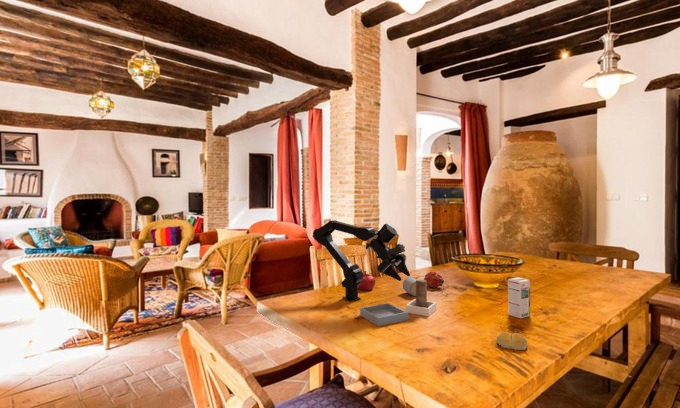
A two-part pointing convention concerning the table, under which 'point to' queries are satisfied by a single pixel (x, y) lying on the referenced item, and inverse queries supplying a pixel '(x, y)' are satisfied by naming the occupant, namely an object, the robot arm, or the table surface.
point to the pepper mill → (421, 293)
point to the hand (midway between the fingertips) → (405, 278)
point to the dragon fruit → (434, 280)
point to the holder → (421, 308)
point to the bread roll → (512, 341)
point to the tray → (383, 314)
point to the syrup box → (519, 297)
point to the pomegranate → (367, 282)
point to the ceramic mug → (410, 285)
